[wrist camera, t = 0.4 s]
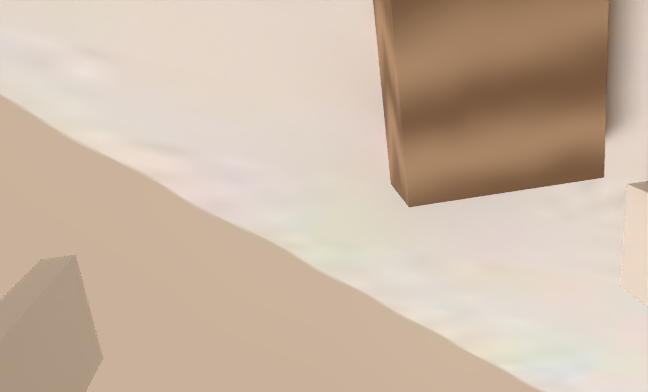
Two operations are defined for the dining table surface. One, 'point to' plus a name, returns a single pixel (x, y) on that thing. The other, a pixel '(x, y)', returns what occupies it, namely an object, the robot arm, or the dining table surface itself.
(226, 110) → the dining table surface
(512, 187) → the walnut block
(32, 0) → the dining table surface
